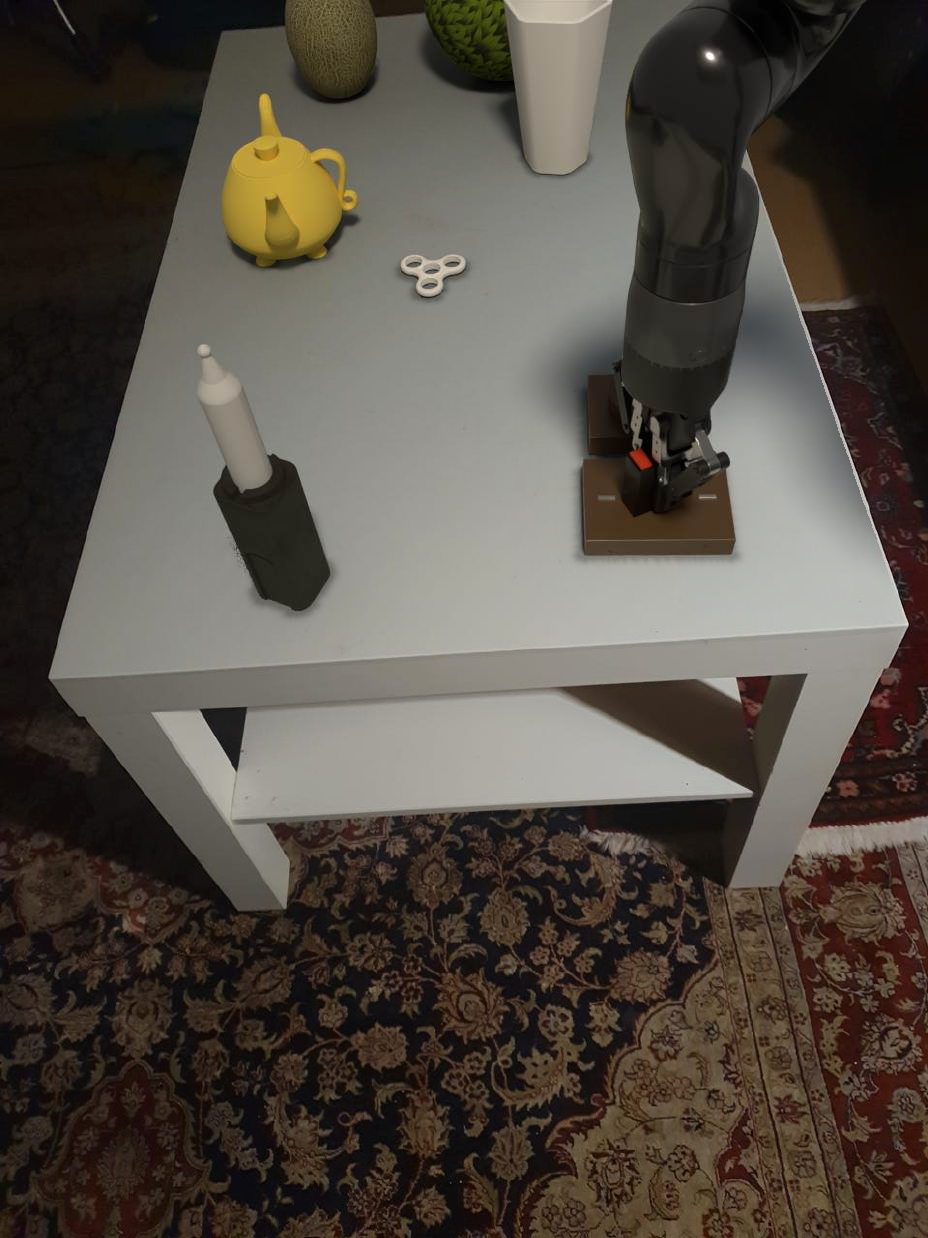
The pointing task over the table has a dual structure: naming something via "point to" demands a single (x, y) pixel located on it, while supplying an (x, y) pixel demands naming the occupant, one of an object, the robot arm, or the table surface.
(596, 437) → the block
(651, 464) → the thumbturn
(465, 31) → the decorative ball
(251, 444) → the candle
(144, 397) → the table surface
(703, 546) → the plate
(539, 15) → the cup
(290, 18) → the fruit
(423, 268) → the fidget spinner
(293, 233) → the teapot
